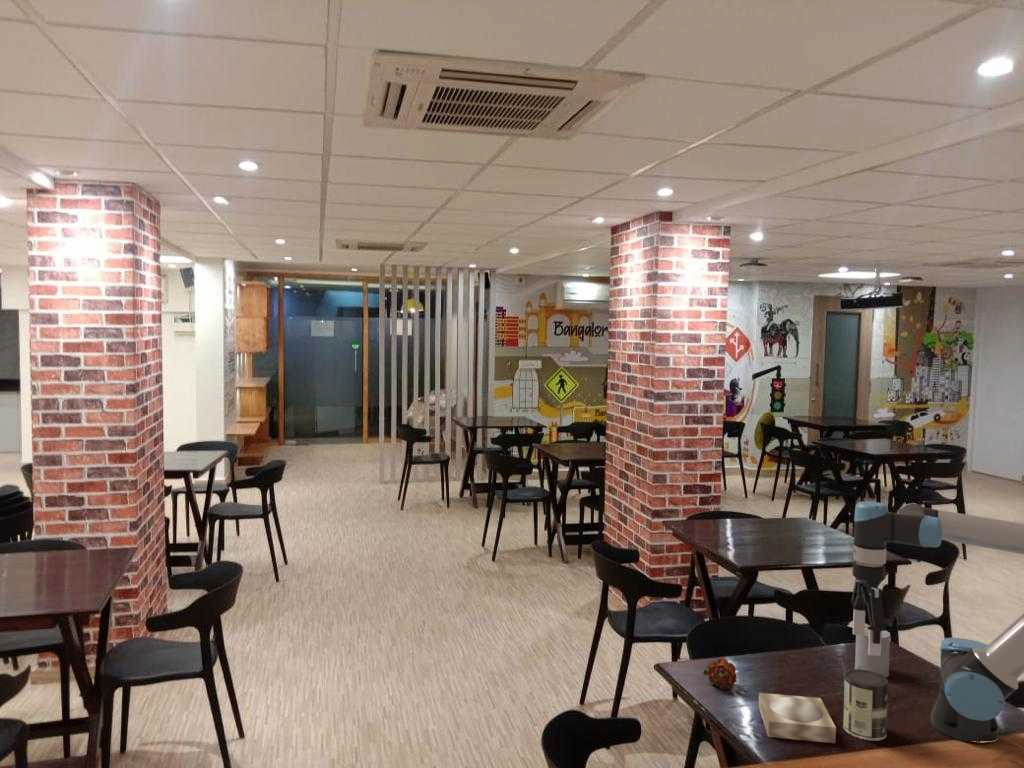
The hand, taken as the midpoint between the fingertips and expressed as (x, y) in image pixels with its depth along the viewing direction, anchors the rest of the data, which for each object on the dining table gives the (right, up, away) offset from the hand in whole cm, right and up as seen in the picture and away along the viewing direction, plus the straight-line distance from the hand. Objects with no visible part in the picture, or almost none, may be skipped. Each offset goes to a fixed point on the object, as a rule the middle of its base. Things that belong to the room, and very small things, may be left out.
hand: (866, 644), depth 189 cm
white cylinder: (+20, -22, +37) cm, 47 cm away
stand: (-17, -22, +4) cm, 28 cm away
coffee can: (0, -23, +1) cm, 23 cm away
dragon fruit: (-30, -22, +26) cm, 45 cm away
